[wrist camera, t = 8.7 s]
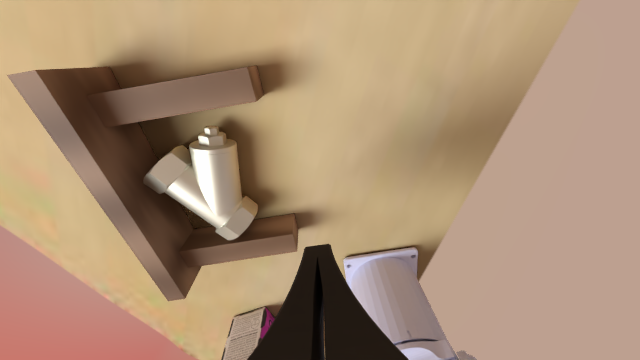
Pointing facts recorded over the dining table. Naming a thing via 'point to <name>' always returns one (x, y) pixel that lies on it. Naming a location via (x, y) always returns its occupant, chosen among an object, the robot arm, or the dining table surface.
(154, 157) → the fitting jig
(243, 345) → the candy bar box
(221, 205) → the pipe fitting
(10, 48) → the dining table surface
